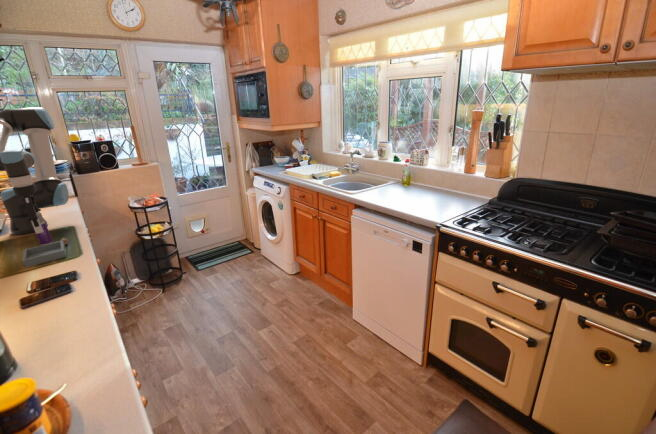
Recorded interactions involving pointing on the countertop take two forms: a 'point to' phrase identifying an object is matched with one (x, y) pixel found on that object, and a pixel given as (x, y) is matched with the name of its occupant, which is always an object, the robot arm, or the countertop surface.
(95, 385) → the countertop surface
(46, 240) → the container
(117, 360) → the countertop surface
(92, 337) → the countertop surface
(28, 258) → the tray
